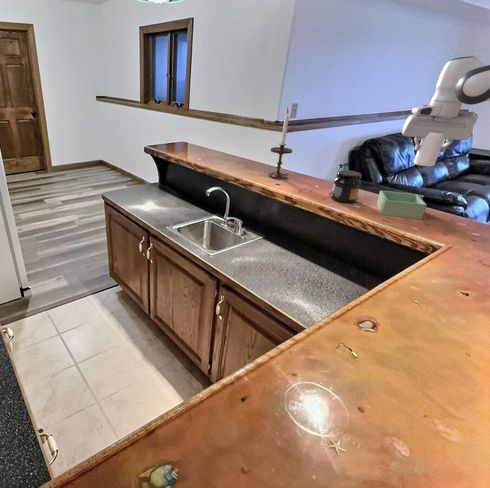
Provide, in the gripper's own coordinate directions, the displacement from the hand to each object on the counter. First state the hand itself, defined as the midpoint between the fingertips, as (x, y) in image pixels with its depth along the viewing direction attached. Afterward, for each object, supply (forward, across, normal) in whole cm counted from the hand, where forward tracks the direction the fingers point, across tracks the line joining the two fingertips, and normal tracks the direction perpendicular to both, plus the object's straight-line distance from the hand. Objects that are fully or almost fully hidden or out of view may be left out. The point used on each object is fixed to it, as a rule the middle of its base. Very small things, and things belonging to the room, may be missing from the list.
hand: (428, 150), depth 126 cm
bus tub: (+26, +2, -5) cm, 26 cm away
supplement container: (+26, +22, -12) cm, 36 cm away
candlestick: (+26, +52, -41) cm, 71 cm away
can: (+5, 0, 0) cm, 5 cm away
